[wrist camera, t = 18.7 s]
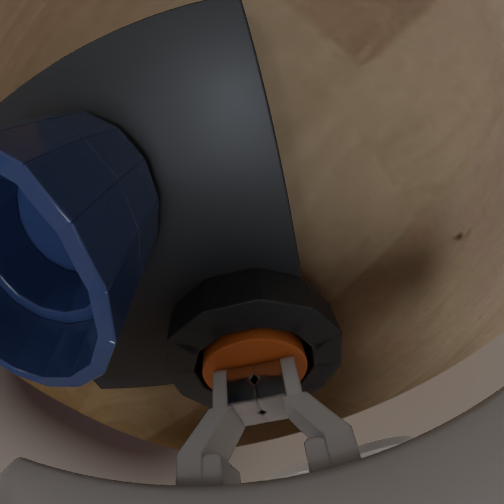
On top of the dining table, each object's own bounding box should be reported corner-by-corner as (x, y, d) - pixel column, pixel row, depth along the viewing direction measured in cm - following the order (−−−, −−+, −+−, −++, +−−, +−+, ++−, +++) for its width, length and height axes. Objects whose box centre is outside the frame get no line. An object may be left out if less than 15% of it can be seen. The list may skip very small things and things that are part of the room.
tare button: (303, 359, 13) (311, 389, 11) (220, 376, 13) (220, 406, 11) (292, 295, 11) (302, 327, 9) (189, 318, 11) (186, 352, 9)
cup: (187, 260, 10) (168, 382, 6) (54, 294, 10) (4, 384, 6) (127, 78, 7) (24, 68, 2) (-8, 157, 7) (-100, 211, 3)
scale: (326, 347, 15) (342, 392, 12) (113, 382, 15) (103, 422, 13) (266, 0, 7) (282, -36, 4) (-23, 133, 7) (-68, 151, 5)
